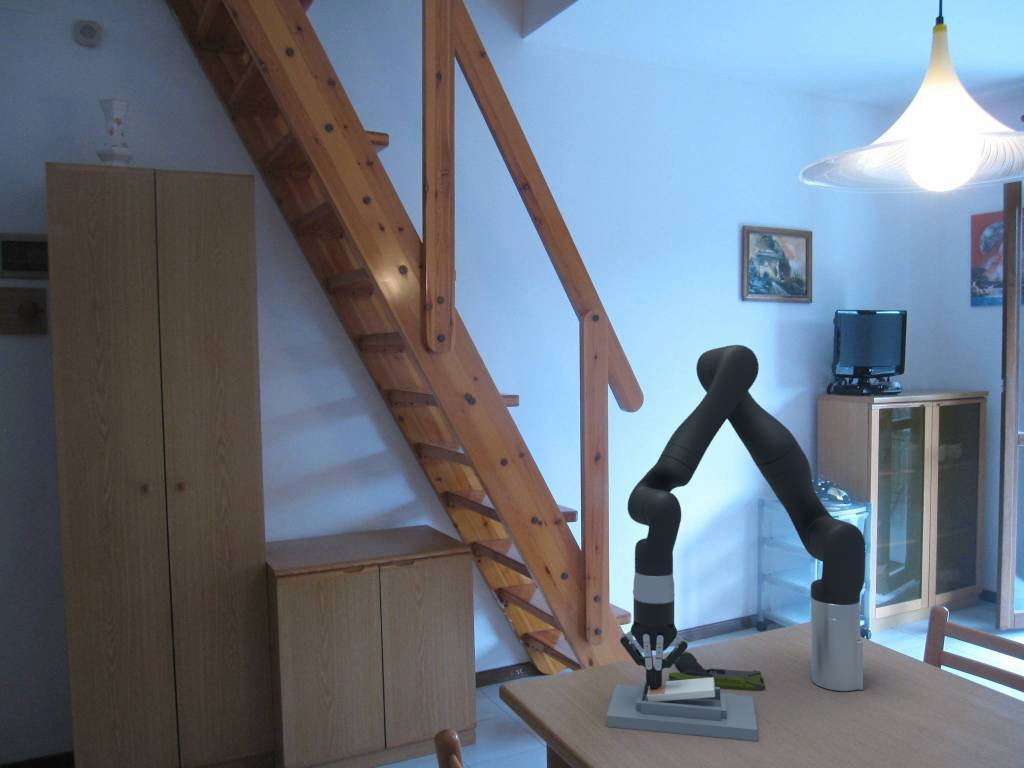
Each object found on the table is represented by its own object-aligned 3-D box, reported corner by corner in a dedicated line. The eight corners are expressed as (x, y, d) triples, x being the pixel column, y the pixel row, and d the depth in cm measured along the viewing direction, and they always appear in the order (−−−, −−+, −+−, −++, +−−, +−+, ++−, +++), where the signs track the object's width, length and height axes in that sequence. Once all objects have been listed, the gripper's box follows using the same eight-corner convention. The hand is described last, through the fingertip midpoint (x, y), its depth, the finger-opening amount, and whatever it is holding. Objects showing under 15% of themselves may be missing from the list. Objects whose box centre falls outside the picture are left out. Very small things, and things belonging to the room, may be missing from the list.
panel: (752, 706, 147) (752, 685, 147) (757, 741, 134) (757, 718, 134) (615, 694, 154) (615, 674, 153) (606, 726, 140) (606, 704, 140)
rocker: (714, 683, 145) (713, 676, 145) (714, 696, 139) (713, 689, 139) (650, 688, 148) (649, 681, 148) (648, 702, 142) (647, 694, 142)
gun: (757, 667, 168) (766, 697, 154) (668, 660, 172) (668, 689, 157) (758, 655, 168) (766, 685, 153) (668, 649, 172) (668, 677, 157)
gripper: (690, 592, 146) (690, 683, 147) (620, 587, 150) (620, 676, 150) (689, 604, 139) (689, 699, 139) (616, 599, 142) (616, 692, 143)
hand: (653, 687), depth 145 cm, fingers closed
